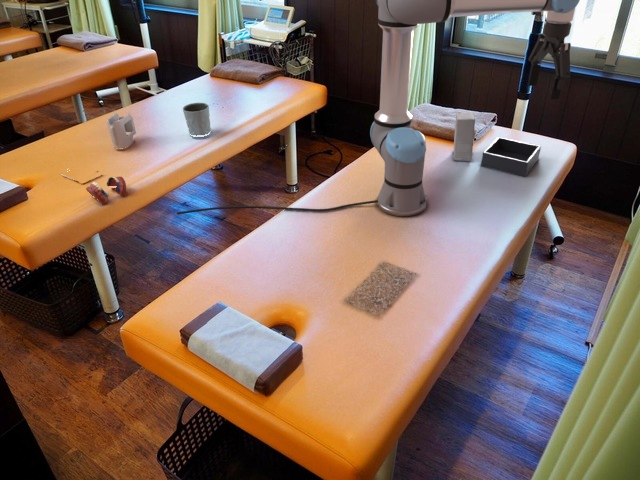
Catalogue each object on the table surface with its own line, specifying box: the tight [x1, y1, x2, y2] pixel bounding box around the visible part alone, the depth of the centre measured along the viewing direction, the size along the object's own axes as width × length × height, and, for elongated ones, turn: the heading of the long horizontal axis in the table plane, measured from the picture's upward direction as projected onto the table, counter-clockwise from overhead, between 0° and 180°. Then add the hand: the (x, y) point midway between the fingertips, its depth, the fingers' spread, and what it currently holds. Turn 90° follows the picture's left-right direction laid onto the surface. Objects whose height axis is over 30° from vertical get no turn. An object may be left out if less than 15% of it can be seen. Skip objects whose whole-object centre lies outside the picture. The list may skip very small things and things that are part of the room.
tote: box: [480, 136, 542, 178], centre depth 189 cm, size 16×16×5 cm
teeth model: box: [85, 176, 127, 205], centre depth 176 cm, size 8×6×12 cm
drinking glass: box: [182, 102, 212, 140], centre depth 214 cm, size 10×10×12 cm
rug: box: [344, 260, 417, 317], centre depth 134 cm, size 10×20×1 cm, turn 145°
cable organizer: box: [106, 112, 137, 151], centre depth 208 cm, size 7×12×12 cm, turn 169°
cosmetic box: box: [453, 111, 476, 162], centre depth 191 cm, size 8×7×16 cm
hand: (542, 92), depth 170 cm, fingers open, 13 cm apart
